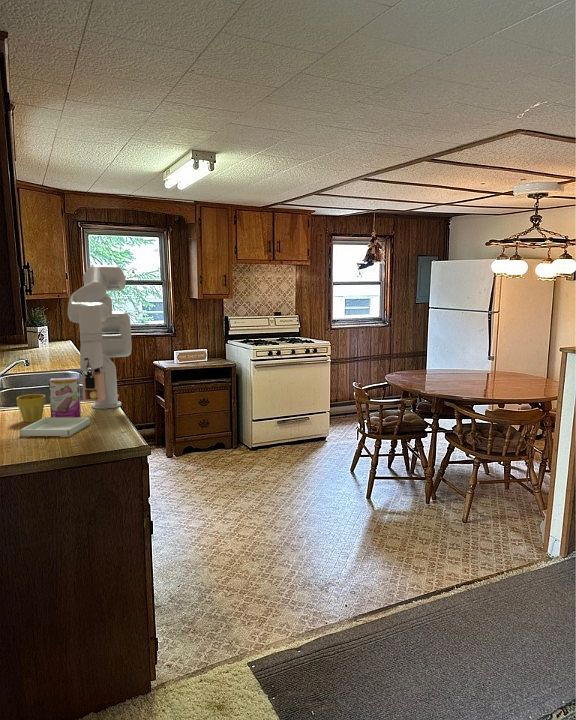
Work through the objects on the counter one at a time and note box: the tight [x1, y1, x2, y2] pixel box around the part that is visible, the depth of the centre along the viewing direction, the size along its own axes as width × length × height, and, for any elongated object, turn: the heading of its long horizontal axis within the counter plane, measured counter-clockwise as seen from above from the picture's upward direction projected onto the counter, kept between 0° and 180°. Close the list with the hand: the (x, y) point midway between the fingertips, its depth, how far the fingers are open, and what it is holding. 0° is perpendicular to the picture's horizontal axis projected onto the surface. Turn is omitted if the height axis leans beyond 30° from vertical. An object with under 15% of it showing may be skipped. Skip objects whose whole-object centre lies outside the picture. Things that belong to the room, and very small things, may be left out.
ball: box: [90, 391, 97, 399], centre depth 190 cm, size 3×3×3 cm
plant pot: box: [16, 393, 47, 423], centre depth 208 cm, size 10×10×10 cm
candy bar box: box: [48, 377, 82, 418], centre depth 211 cm, size 11×5×16 cm, turn 108°
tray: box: [19, 416, 92, 438], centre depth 194 cm, size 18×18×2 cm
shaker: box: [81, 371, 106, 403], centre depth 192 cm, size 6×6×10 cm
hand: (94, 386), depth 192 cm, fingers closed on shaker, 6 cm apart
